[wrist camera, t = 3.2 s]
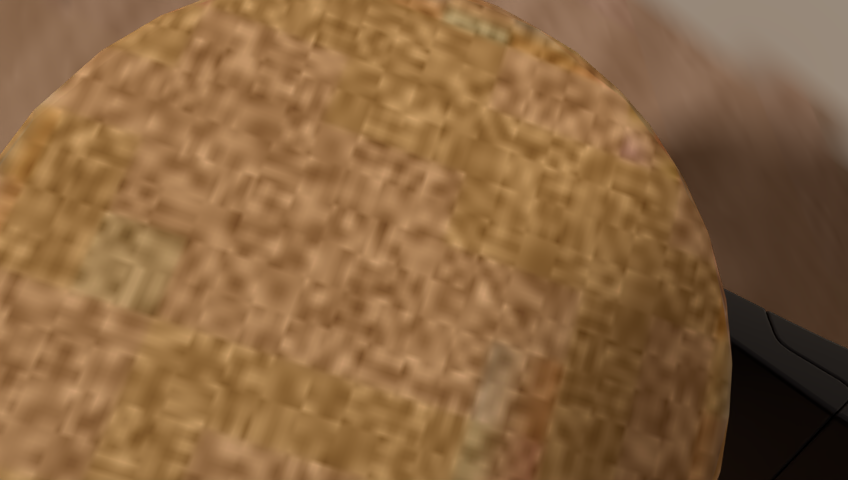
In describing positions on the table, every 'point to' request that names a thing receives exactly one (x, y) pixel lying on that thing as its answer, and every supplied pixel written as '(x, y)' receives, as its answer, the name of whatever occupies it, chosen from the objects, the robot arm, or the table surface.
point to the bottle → (353, 259)
